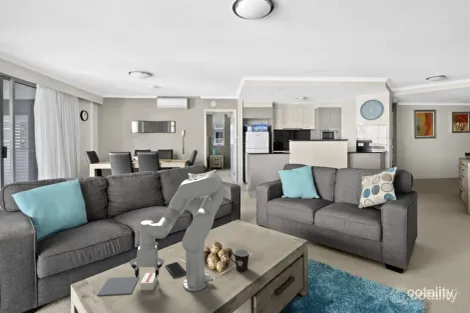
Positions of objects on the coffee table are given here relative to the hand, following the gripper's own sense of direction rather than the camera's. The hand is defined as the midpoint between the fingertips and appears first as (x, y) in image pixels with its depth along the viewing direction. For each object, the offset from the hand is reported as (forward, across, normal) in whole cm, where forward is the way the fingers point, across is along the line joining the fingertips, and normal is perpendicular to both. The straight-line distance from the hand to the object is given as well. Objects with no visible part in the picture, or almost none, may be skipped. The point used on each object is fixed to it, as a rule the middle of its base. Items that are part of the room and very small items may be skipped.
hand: (147, 276), depth 129 cm
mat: (+5, +14, 0) cm, 15 cm away
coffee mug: (+3, -50, -11) cm, 51 cm away
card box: (+5, -1, 0) cm, 5 cm away
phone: (+5, -13, -12) cm, 18 cm away
